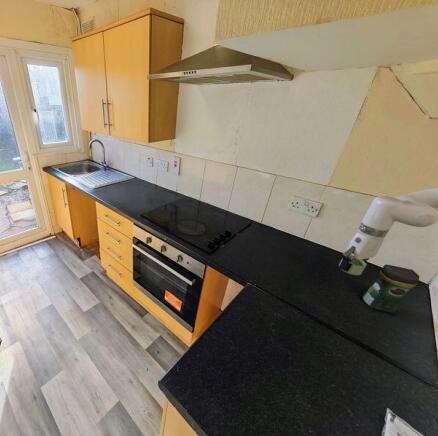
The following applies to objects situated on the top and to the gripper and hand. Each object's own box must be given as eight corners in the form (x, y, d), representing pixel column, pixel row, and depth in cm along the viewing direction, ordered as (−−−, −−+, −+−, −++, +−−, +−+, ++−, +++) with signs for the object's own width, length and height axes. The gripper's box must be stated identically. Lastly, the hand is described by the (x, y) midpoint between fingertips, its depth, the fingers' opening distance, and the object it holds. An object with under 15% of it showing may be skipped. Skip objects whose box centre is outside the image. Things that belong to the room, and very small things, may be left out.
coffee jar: (386, 301, 93) (413, 266, 85) (397, 316, 87) (428, 279, 78) (358, 294, 96) (381, 259, 87) (367, 308, 89) (393, 272, 81)
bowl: (346, 263, 94) (351, 254, 92) (365, 274, 88) (371, 265, 86) (334, 265, 92) (339, 256, 90) (352, 277, 86) (357, 267, 84)
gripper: (367, 238, 76) (344, 278, 85) (401, 232, 81) (376, 270, 89) (344, 227, 83) (325, 265, 91) (377, 222, 87) (356, 259, 95)
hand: (350, 267), depth 90 cm, fingers closed on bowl, 7 cm apart
